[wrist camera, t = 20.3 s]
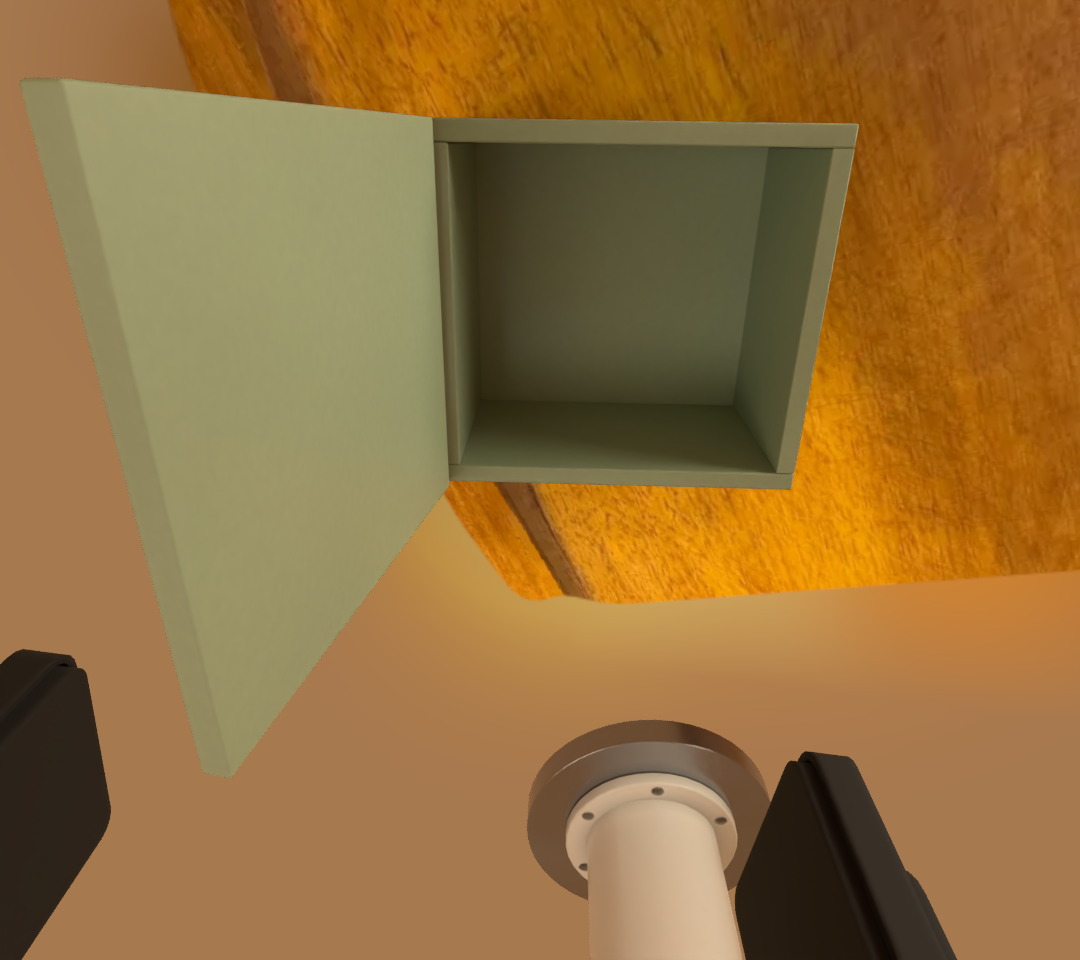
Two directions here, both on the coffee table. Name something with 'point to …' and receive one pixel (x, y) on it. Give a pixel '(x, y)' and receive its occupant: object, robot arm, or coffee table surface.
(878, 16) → the coffee table surface
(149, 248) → the lid
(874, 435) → the coffee table surface
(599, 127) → the grey-green open box
